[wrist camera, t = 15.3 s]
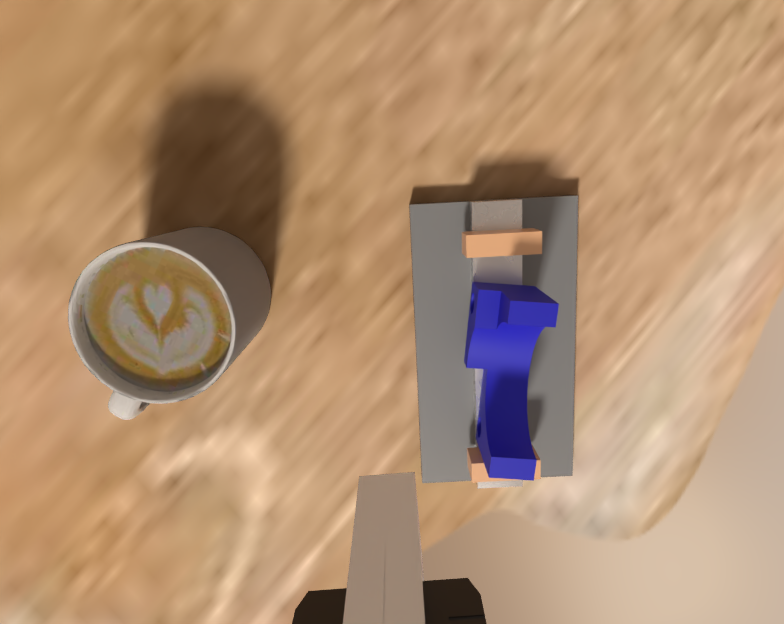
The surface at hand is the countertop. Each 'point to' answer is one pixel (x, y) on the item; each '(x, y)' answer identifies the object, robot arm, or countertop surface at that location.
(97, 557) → the countertop surface
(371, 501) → the robot arm
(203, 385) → the coffee mug
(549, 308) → the cable clip
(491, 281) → the rail mount
